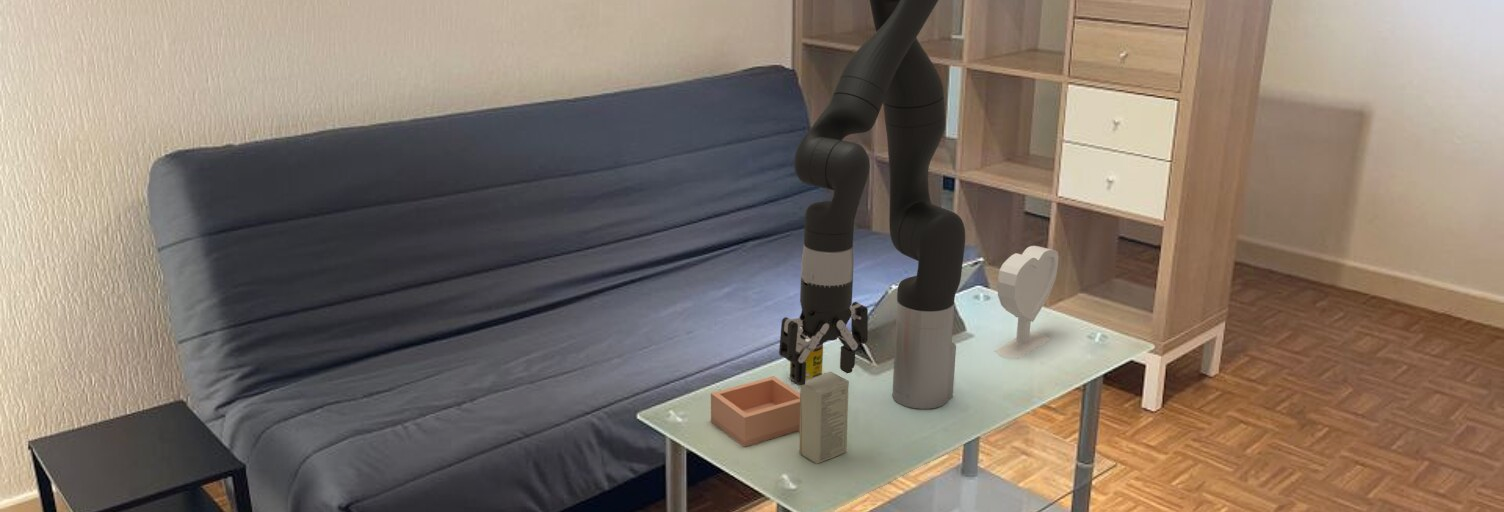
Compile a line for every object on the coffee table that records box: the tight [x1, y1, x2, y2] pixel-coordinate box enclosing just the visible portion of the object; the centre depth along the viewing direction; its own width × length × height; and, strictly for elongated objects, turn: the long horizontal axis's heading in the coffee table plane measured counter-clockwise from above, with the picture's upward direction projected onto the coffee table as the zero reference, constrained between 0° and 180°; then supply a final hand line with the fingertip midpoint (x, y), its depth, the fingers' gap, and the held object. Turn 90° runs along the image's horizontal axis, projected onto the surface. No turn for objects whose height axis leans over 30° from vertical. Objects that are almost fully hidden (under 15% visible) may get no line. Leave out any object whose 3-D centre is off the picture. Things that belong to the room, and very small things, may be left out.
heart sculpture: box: [994, 245, 1059, 360], centre depth 224 cm, size 16×5×18 cm, turn 139°
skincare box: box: [798, 371, 850, 464], centre depth 186 cm, size 6×4×12 cm
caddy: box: [710, 375, 800, 448], centre depth 196 cm, size 12×10×5 cm
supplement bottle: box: [789, 327, 824, 382], centre depth 211 cm, size 6×6×10 cm
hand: (822, 377), depth 184 cm, fingers open, 8 cm apart
